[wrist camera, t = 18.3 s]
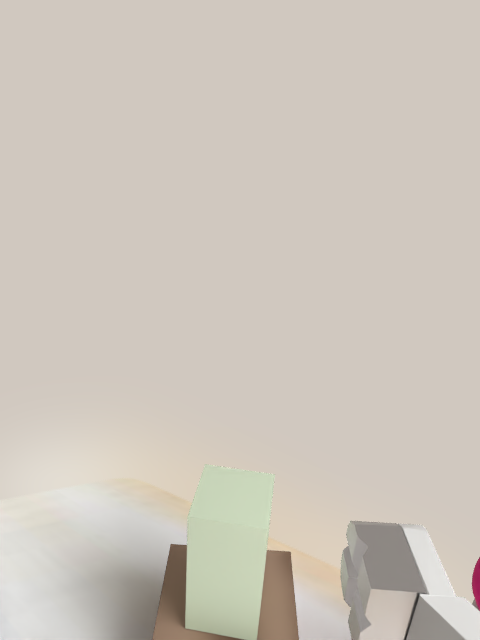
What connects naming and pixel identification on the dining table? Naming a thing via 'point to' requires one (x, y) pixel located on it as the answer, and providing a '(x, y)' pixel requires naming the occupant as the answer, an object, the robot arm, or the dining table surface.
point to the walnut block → (275, 612)
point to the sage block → (227, 551)
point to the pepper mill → (476, 585)
